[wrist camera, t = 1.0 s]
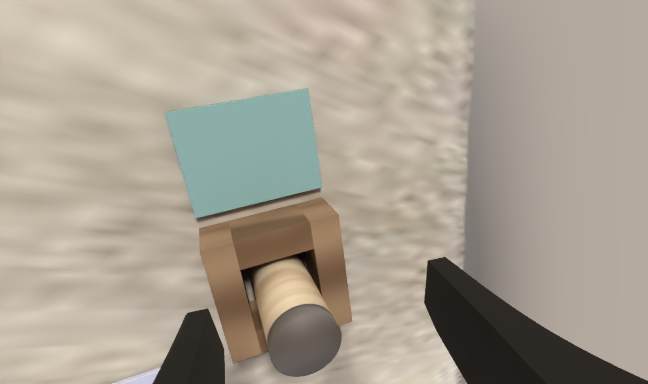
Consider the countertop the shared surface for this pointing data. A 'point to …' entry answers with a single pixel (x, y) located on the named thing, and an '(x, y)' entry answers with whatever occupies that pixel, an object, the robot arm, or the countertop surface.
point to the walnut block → (264, 246)
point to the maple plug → (294, 317)
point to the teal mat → (246, 150)
